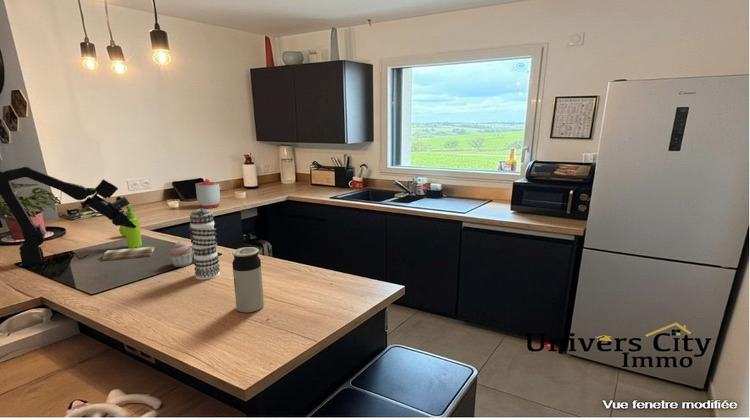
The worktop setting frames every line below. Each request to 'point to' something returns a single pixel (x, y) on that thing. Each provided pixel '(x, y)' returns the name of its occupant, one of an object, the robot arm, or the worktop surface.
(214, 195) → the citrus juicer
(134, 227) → the robot arm
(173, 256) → the cupcake
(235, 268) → the travel mug
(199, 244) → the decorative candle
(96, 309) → the worktop surface
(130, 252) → the bar
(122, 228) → the ornament
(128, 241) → the soap dispenser
